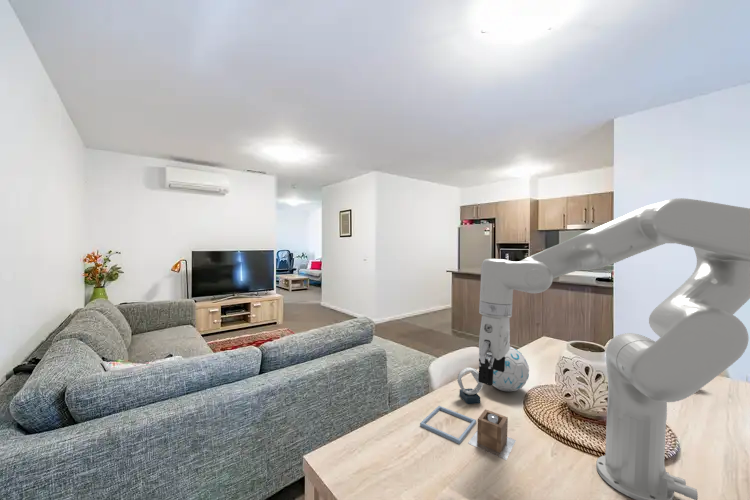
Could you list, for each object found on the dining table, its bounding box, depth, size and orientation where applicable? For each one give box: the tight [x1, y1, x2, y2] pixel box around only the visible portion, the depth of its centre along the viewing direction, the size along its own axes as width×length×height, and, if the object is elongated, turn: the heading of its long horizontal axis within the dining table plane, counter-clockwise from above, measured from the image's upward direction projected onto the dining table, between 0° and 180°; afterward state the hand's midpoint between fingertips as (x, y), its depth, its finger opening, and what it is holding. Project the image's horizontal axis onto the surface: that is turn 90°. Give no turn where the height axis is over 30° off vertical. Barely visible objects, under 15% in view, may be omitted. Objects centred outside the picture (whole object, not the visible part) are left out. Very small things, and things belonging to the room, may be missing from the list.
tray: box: [419, 405, 477, 445], centre depth 81 cm, size 11×11×2 cm
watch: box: [456, 366, 484, 405], centre depth 95 cm, size 6×8×11 cm
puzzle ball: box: [486, 346, 530, 392], centre depth 104 cm, size 15×15×15 cm
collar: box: [476, 408, 509, 453], centre depth 74 cm, size 6×6×6 cm
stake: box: [467, 414, 517, 461], centre depth 74 cm, size 9×9×8 cm
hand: (491, 376), depth 74 cm, fingers open, 9 cm apart
